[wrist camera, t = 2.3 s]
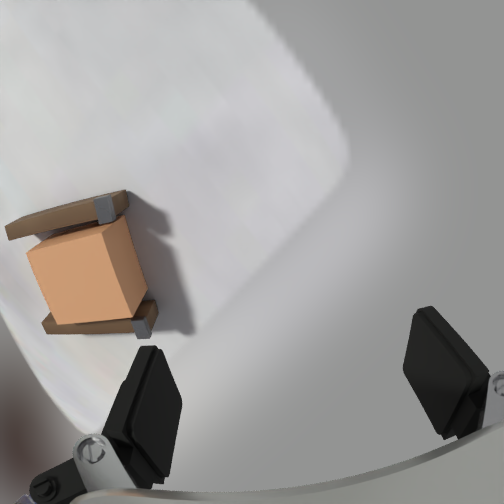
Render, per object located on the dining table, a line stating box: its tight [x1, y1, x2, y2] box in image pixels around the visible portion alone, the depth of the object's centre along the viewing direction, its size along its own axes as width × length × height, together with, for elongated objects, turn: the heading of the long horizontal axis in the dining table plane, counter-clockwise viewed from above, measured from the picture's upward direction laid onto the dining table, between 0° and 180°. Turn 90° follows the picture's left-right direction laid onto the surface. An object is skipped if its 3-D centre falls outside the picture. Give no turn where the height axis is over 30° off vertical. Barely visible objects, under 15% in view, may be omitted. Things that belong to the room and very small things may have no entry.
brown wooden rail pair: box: [5, 190, 159, 339], centre depth 20 cm, size 10×10×3 cm
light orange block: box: [26, 215, 148, 325], centre depth 19 cm, size 6×7×4 cm
